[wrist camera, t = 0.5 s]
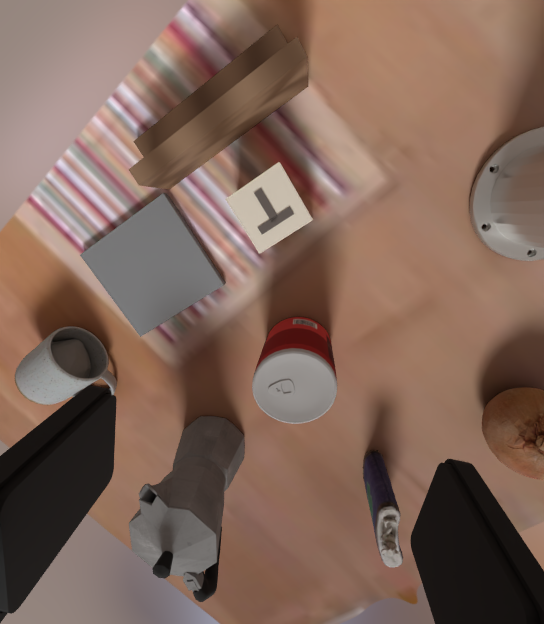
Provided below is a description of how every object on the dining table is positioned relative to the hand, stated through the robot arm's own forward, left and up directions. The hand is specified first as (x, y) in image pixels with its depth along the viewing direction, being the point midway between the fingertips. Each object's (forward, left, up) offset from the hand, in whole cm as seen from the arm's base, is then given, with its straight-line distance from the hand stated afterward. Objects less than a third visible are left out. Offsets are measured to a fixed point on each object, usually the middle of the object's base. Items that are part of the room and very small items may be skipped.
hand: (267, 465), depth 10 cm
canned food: (+5, +8, -31) cm, 32 cm away
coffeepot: (+23, +16, -31) cm, 42 cm away
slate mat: (+15, -9, -31) cm, 36 cm away
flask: (+6, +30, -31) cm, 43 cm away
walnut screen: (-1, -18, -31) cm, 36 cm away
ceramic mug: (+31, -4, -31) cm, 44 cm away
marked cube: (-1, -7, -31) cm, 32 cm away
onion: (-13, +28, -31) cm, 44 cm away
